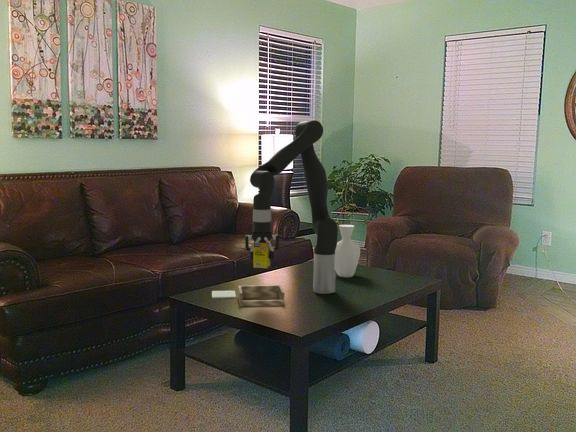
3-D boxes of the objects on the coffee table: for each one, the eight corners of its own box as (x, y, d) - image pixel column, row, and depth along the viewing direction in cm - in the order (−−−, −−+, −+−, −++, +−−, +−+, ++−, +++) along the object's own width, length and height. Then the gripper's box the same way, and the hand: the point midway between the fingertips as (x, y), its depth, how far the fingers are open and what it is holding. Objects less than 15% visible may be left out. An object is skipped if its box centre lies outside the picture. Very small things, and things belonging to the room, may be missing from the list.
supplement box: (267, 270, 229) (267, 243, 228) (252, 269, 230) (253, 243, 229) (270, 267, 235) (270, 241, 234) (256, 266, 236) (256, 240, 235)
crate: (280, 296, 242) (280, 285, 242) (284, 305, 229) (284, 293, 229) (238, 297, 240) (238, 285, 239) (239, 306, 227) (240, 293, 226)
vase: (361, 279, 276) (362, 228, 273) (331, 278, 277) (333, 227, 273) (357, 272, 291) (359, 224, 287) (329, 271, 291) (331, 223, 288)
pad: (234, 291, 248) (234, 290, 248) (236, 298, 239) (236, 296, 239) (211, 292, 247) (211, 290, 247) (211, 298, 237) (211, 297, 237)
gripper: (278, 218, 235) (278, 257, 237) (243, 219, 233) (243, 258, 235) (280, 221, 227) (280, 261, 230) (244, 221, 225) (244, 262, 228)
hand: (261, 260), depth 232 cm, fingers closed on supplement box, 7 cm apart
